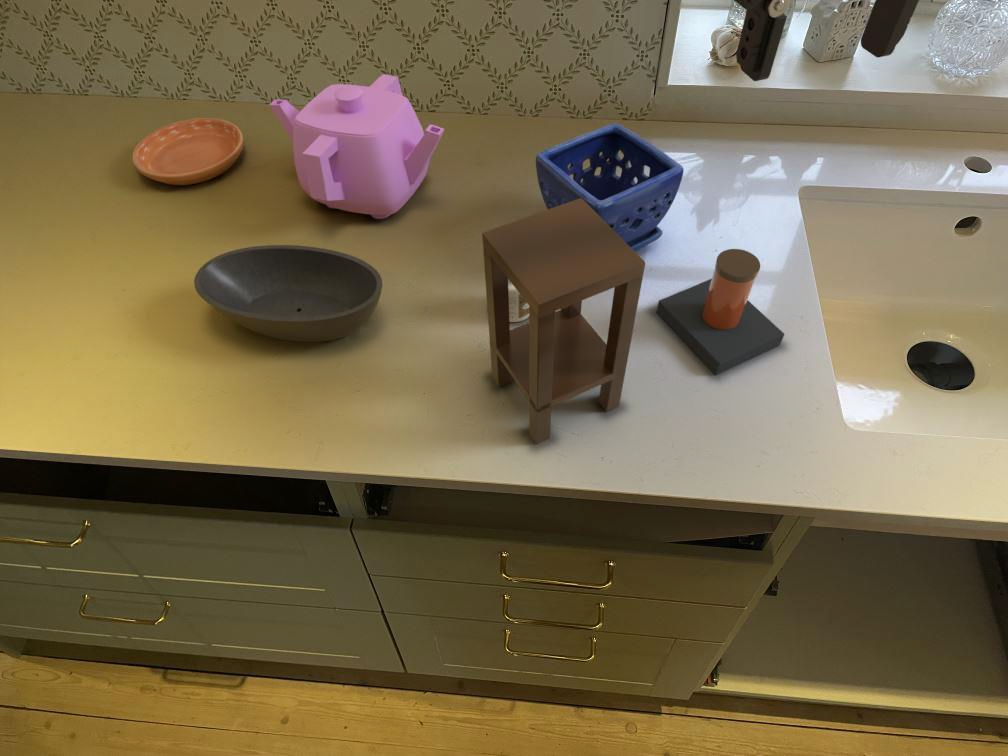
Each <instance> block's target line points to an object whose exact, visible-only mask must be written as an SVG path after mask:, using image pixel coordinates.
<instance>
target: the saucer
mask: <svg viewBox="0 0 1008 756" xmlns="http://www.w3.org/2000/svg"><path fill="white" fill-rule="evenodd" d="M244 144H245V143H244V136H243V133H242V131H241V130H240V128H239V127H238V126H237V125H235V124H234V123H232V122H230V121H227V120H224V119H220V118H214V117H213V118H211V117H198V118H190V119H185V120H180V121H175V122H173V123H170V124H167V125H164V126H162V127H160V128H158V129H156V130H154V131H153V132H151V133H148V135H146V136H145V137H143V138H142V139H141V140H140V141H139V143H138V144H137V145H136V146H135V147H134V150H133V152H132V156H131V157H132V158H131V159H132V163H133V165H134V167H135V168H136V169H137V171H138V172H139V173H140V174H141V175H143V176H145V177H147V178H148V179H151V180H153V181H156V182H158V183H163V184H167V185H173V186H189V185H195V184H196V185H197V184H201V183H204V182H207V181H210V180H212V179H215V178H217V177H219V176H221V175H222V174H224V173H225V172H227V171H228V170H229V169H230V168H231V167H232V166H233V165H234V164H235V162H236V161H237V159H239V157H240V155H241V153H242V151H243V148H244Z"/></svg>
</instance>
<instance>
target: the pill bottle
mask: <svg viewBox="0 0 1008 756" xmlns="http://www.w3.org/2000/svg"><path fill="white" fill-rule="evenodd" d="M508 293H509V322H510V323H518V322H522V321H524V320H526V319H529V305H528V304H527V302H526V301H525V300H524V298H523V297H522V296H521V294H520V293H519V292H518V291H517V289H516V288H515V287H514V285H513V284H512V283H511V282H510V280H509V279H508Z"/></svg>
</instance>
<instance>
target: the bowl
mask: <svg viewBox="0 0 1008 756" xmlns="http://www.w3.org/2000/svg"><path fill="white" fill-rule="evenodd" d="M193 280H194V281H193V286H194V289H195V291H196V293H197V295H199V296H200V298H201V299H203V300H204V301H205V302H206V303H207V304H208V305H209V306H210V307H211V308H213V309H214V310H215V311H217V313H220V314H221V316H223V317H225V318H227V319H228V320H229V321H232V322H234V323H236V324H237V325H239V326H241V327H242V328H245V329H248V330H249V331H252V332H255V333H258V334H261V335H263V336H267V337H270V338H272V339H276V340H281V341H285V342H294V343H322V342H330V341H335V340H339V339H342V338H345V337H348V336H350V335H351V334H353V333H354V332H356V331H357V330H359V329H360V328H361V327H362V326H364V325H365V324H366V323H367V322H368V320H369V319H370V318H371V316H372V315H373V313H374V312H375V310H376V308H377V307H378V304H379V301H380V298H381V294H382V290H383V279H382V276H381V274H380V273H379V271H378V270H377V269H376V268H375V267H374V266H372V265H371V264H369V263H368V262H367V261H365V260H362V259H361V258H359V257H356V256H353V255H352V254H347V253H344V252H340V251H337V250H333V249H327V248H321V247H315V246H308V245H296V244H295V245H294V244H267V245H257V246H248V247H242V248H238V249H234V250H230V251H227V252H224V253H221V254H219V255H217V256H215V257H213V258H210V259H209V260H207V262H205V263H204V264H203V265H202V266H201V267H200V268H199V269H198V270H197V272H196V274H195V276H194V279H193Z"/></svg>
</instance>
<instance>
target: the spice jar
mask: <svg viewBox="0 0 1008 756" xmlns="http://www.w3.org/2000/svg"><path fill="white" fill-rule="evenodd" d="M760 270H761V261H760V260H759V258H758V257H757V256H756V255H755V254H753V253H752V252H751V251H748V250H745V249H740V248H729V249H725V250H723V251H721V252H720V253H718V255H717V257H716V260H715V263H714V271H713V274H712V277H711V279H712V280H711V284H710V287H709V290H708V294H707V297H706V300H705V304H704V307H703V311H702V317H703V320H704V321H705V322H706V323H707V324H708V325H709V326H711V327H713V328H716V329H720V330H728V329H732V328H734V327H736V326H737V325H738V324H739V322H740V319H741V316H742V314H743V311H744V308H745V305H746V303H747V300H748V301H749V298H750V294H751V292H752V288H753V286H754V283H755V280H756V278H757V277H758V275H759V272H760Z"/></svg>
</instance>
